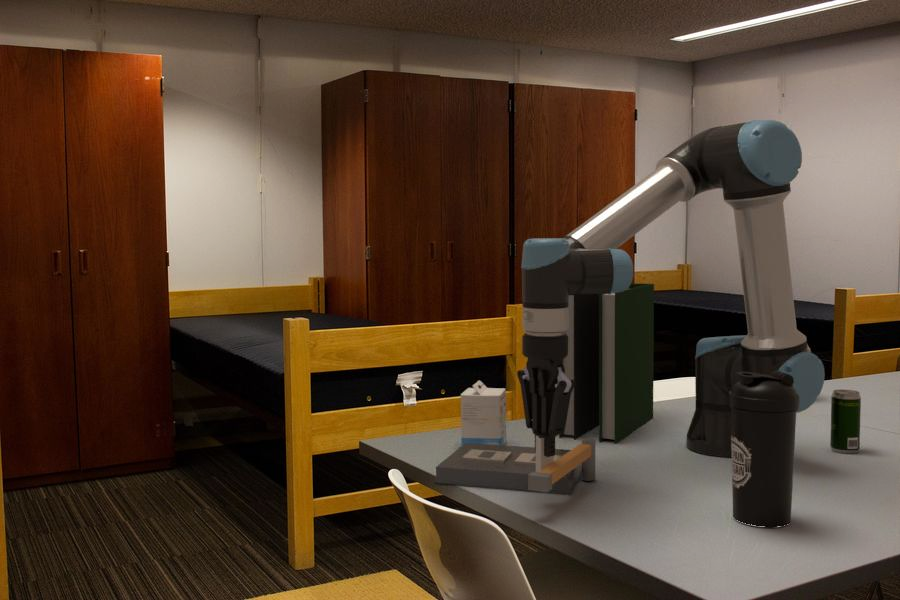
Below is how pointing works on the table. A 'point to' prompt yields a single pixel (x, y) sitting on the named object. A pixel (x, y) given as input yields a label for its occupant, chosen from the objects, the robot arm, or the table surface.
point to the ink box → (483, 415)
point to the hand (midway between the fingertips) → (544, 473)
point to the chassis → (498, 468)
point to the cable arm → (566, 467)
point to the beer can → (845, 421)
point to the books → (610, 362)
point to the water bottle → (763, 447)
